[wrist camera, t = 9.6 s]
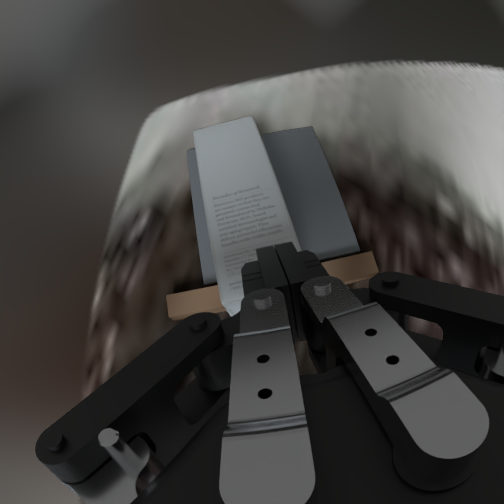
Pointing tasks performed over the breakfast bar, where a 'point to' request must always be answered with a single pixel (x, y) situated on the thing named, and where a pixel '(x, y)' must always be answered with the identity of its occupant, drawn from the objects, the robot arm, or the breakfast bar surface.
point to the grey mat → (291, 198)
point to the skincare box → (239, 201)
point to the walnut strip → (210, 301)
